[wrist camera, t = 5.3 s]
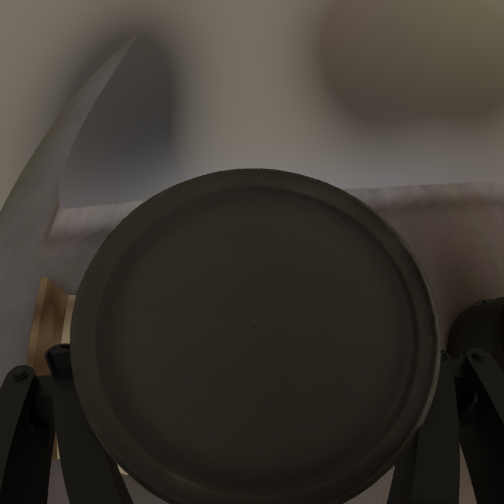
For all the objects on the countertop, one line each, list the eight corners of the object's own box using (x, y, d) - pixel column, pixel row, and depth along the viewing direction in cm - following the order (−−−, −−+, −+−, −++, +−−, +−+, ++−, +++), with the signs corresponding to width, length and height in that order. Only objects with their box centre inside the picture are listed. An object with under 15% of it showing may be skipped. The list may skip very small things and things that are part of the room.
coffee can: (196, 468, 16) (123, 551, 4) (158, 330, 21) (64, 210, 9) (342, 422, 18) (485, 415, 6) (293, 293, 23) (349, 147, 11)
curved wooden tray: (170, 477, 24) (153, 491, 19) (57, 455, 24) (25, 458, 18) (170, 301, 34) (157, 277, 28) (67, 299, 33) (41, 277, 28)
